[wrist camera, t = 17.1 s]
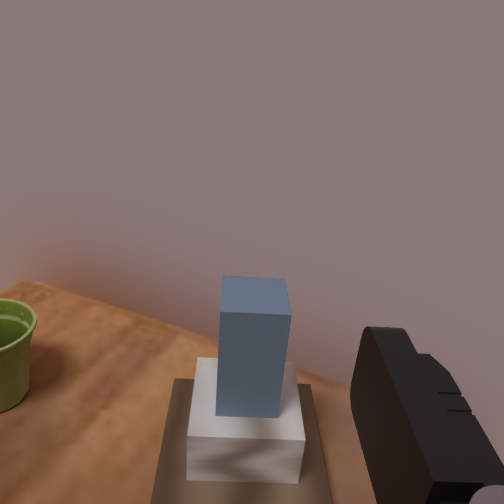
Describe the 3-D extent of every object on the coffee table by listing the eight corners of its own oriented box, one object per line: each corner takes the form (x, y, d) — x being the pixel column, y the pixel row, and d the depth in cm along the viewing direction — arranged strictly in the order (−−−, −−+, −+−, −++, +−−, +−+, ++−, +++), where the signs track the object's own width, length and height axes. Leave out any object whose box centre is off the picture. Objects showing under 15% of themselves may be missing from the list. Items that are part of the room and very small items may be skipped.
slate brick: (215, 416, 36) (220, 311, 32) (218, 372, 41) (222, 275, 36) (277, 418, 37) (291, 315, 32) (273, 375, 41) (285, 278, 37)
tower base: (150, 533, 36) (147, 463, 32) (174, 400, 48) (174, 339, 45) (328, 538, 36) (344, 470, 33) (306, 405, 49) (316, 345, 45)
